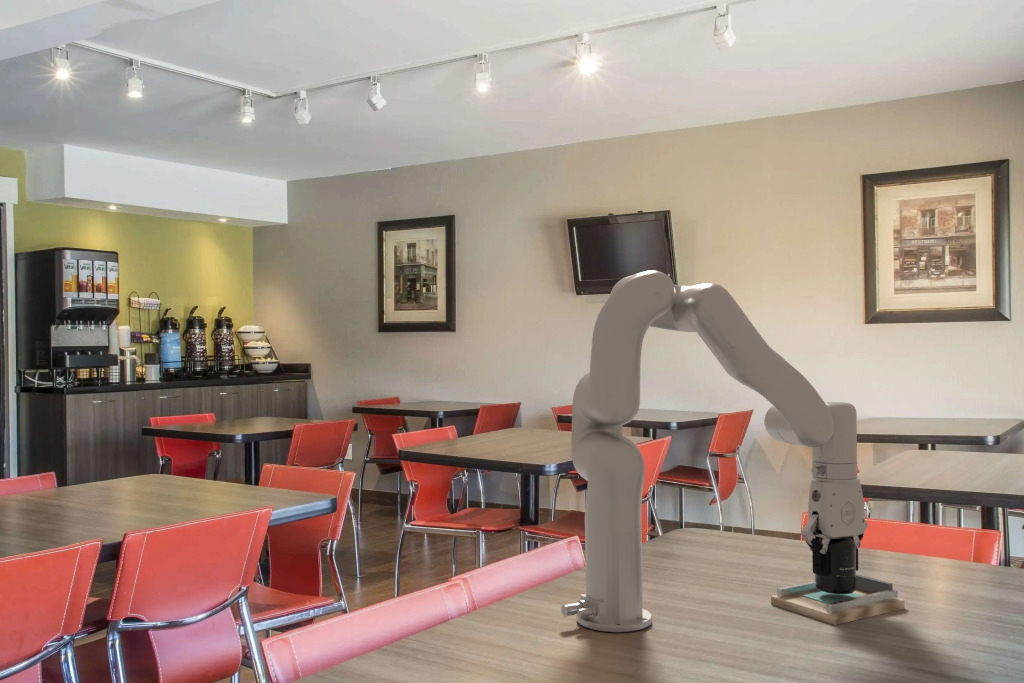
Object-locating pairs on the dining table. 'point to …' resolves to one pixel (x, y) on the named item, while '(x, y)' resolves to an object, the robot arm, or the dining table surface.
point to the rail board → (840, 601)
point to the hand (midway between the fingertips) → (835, 571)
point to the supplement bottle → (839, 567)
